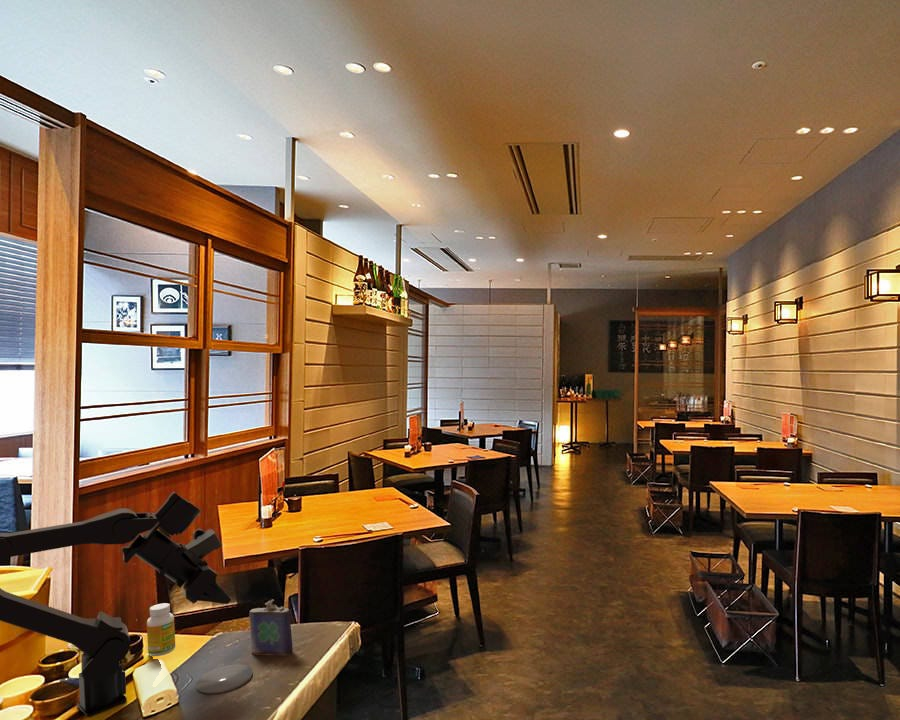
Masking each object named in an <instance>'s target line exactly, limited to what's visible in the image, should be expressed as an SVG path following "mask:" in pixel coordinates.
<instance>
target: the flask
mask: <svg viewBox="0 0 900 720" xmlns="http://www.w3.org/2000/svg"><path fill="white" fill-rule="evenodd" d="M274 601H275V600H274V599H270V600H268V601H267V602H265V603H264V605H265V606H266V607H262V608H261V607H257V608H252V609H251V610H249V614H248V615H249V622H250V623H249V625H250V644H251V646H250V649H251V650H250V651H251V654H253V655H257V656H259V655H264V656H272V655H274V656H289V655H291V654H292V653H293V652H294V651H293V650H294V649H293V648H294V647H293V637H292V625H291V611H290V609H289V608H288V607H287V608H286V607H284V606H280V607H278V606H277V605H276V604H273V602H274Z"/></svg>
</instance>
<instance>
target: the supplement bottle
mask: <svg viewBox="0 0 900 720" xmlns="http://www.w3.org/2000/svg"><path fill="white" fill-rule="evenodd" d="M149 616H150V617H148V619H147V621H146V634H147V635H146V636H147V654H148V655H149V656H150V657H160V656H165V655H167V654H170V653H172V652H173V651H174V650H175V649H176V633H175V632H176V629H175V616H174V614H173V613H171V605H170V603H167V602H166V603H165V602H163V603H158V604H155V605H152V606H150V607H149Z"/></svg>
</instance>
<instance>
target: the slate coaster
mask: <svg viewBox="0 0 900 720" xmlns="http://www.w3.org/2000/svg"><path fill="white" fill-rule="evenodd" d="M252 677H253V669H252V668H251V666H248V665H245V664H240V663H239V664H237V663H236V664H235V663H234V664H229V665H224V666H218V667H216V668H213V669H212V670H209V671H208V672H205V673H204V674H202V675H201V676H200V677H199V678H198V679H197V681H196V689H197V691H199V692H200V693H202V694H207V695H209V694H212V695H214V694H222V693H227V692H229V691H232V690H236V689H238V688H240V687H242V686H243V685H245V684H247V683H248V682H249V681H250V680H251V679H252Z"/></svg>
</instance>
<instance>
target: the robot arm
mask: <svg viewBox="0 0 900 720" xmlns="http://www.w3.org/2000/svg"><path fill="white" fill-rule="evenodd" d="M202 512H203V511H202V510H201V509H200V508H198V507H197V506H196V505H194V504H193V503H192V502H190V501H189V500H188V499H186V498H185V499H184V497H183V496H180V495H179V494H178V493H177V492H175V491H172V492H171V493H170V494H169V496H168V497H167V498H166V500H165V501H164V503H163V504H161V505H160V506H159V508H158V509H157V510H156V511H155V512H149V511H148V512H134V510H132V509H130V508H123V507H122V508H117V509H114V510H110V511H108V512H104V513H102V514H99V515H96V516H94V517H91V518H89V519H88V518H87V519H86V520H83V521H77V522H69V523H64V524H58V525H53V526H45V527H40V528H33V529H28V530H22V531H21V530H20V531H15V532H0V564H1V563H2V562H3V561H4V560H5V559H7V558H11V557H17V556H23V555H28V554H34V553H35V554H36V553H40V552H41V553H42V552H44V551H45V552H46V551H51V550H56V549H57V550H58V549H63V548H67V547H68V548H69V547H73V546H74V547H75V546H79V545H85V544H86V545H89V544H90V545H91V544H92V545H101V546H102V545H103V546H104V545H123V546H122V547H121V551H122V560H123V562H124V564H128V563H130V561H131V560H132V558H133V557H134V556H136V557H138V558H139V559H141V561H143V562H144V563H146V564H148V565H149V566H150V567H152V568H153V569H155V570H156V571H157V572H158V574H160V575H161V576H162V577H163V576H165V577H166V578H167V579H169V580H171V581H172V582H173V583H174V584H175V586H177V587H179V588H182V594H183V597H184V598H185V599H186V600H188V601H189V602H191V603H192V604H193V605H194V604H196V603H197V602H198V601H199V602H208V603H217V604H222V605H228V604H229V603H230V602H231V601H232V598H231V597H230V596H229V595H228V594H227V593H226V592H225V590H224V589H223V587H222V586H221V585H220V584H219V583H218V582H217V577H218V572H216V571H215V570H214V569H213V568H211V567H210V566H208V562H207V561H206V560H205V559H204V558H205V557H206V556H208V555H209V554H211V553H212V552H214V551H215V550H218V549H220V548H221V547H222V546H223V544H222V542H221V540H220V538H219V537H218V535H217V534H216V532H215V531H214V530H213V529H210V528H209V529H207V530H206V531H205V530H203V529H201V528H197V529H196V530H195V531H193V532H192V540H191V539H190V542H189V543H187V544H186V545H184V544H183V543H181V542H179V543H178V542H175V541H174V540H173V539H172V538H170V537H168V536H167V535H165V534H164V533H163V532H162V531H160V530H159V528H160V529H162V530H163V531H165V532H166V533H168V534H169V535H170V536H172V537H174V536H175V535H176V536H178V535H183V534H184V533H185V531H186V530H187V529H188V528H189V527H190V525H191V524H192V523H193V522H194V521H195V520H196V519H197V518H198V516H199V515H200V514H201V513H202ZM143 533H144V534H143ZM130 542H131V543H130ZM128 543H130V544H128ZM125 544H128V545H125ZM203 559H204V560H203ZM0 622H3V623H7V624H9V625H12V626H16V627H19V628H21V629H25V630H28V631H30V632H34V633H37V634H40V635H44V636H46V637H49V638H52V639H55V640H59V641H61V642H62V641H63V642H64V643H69V644H71V645H73V646H74V647H76V648H77V649H78V650H80V652H82V654H81V656H80V657H81V658H80V659H81V660H80V661H81V663H80V665H81V666H80V667H81V669H80V670H81V672H80V673H78V688H79V690H78V691H79V702H77V703H76V706H77V708H78V709H80V711H81V713H82V712H83V714H84V715H85V716H86V717H91V716H94V715H95V714H98V713H101V712H103V711H105V710H108V709H111V708H113V707H115V706H117V705H120V704H122V703H125V702H126V701H128V698H127V696H125V695H126V693H127V682H126V679H127V678H126V671H125V670H123V664H122V663H121V660H123V658H125V657H126V656H127V654H128V653H129V652H130V650H131V639H130V634H129V630H128V627H127V625H126V624H125V623H124V622H122V618H121V616H119V617H118V616H117V617H116V616H115V617H114V616H110V615H109V614H107V613H106V612H103V611H99V612H98V615H97V617H96V618H86V617H81V616H78V615H75V614H71V613H69V612H66V611H63V610H60V609H58V608H54V607H52V606H49V605H46V604H44V603H43V604H42V603H40V602H38V601H35V600H31V599H29V598H25V597H23V596H20V595H17V594H13V593H10V592H8V591H6V590H3V588H1V587H0Z"/></svg>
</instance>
